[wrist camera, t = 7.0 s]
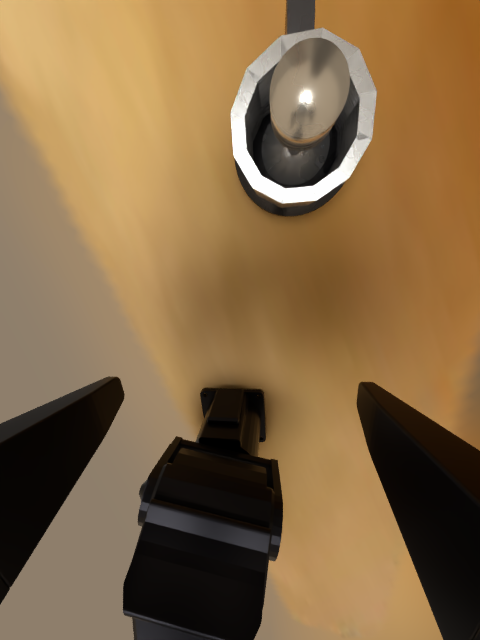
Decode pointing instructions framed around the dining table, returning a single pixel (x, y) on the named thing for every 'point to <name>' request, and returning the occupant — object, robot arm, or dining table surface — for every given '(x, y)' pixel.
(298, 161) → the plunger
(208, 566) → the robot arm
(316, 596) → the dining table surface
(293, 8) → the octagonal collar cylinder
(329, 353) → the dining table surface
